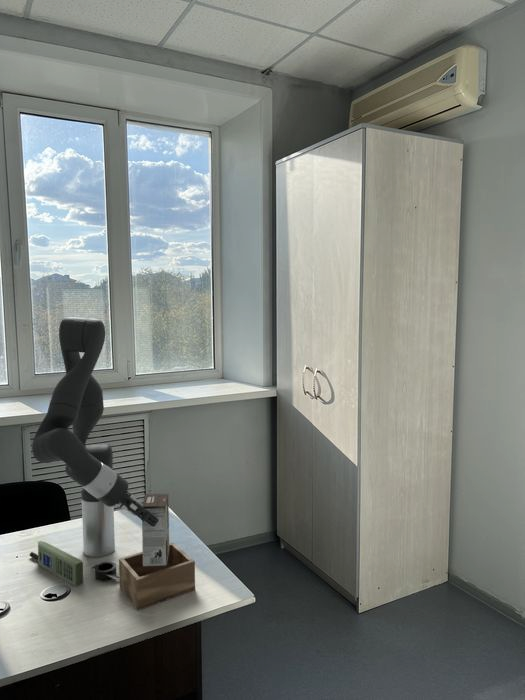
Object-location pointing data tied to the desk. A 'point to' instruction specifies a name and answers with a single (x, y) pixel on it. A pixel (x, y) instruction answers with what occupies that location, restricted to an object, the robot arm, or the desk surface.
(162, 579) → the walled box
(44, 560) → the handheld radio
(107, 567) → the black wing nut
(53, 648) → the desk surface
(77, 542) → the desk surface
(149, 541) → the coffee box
